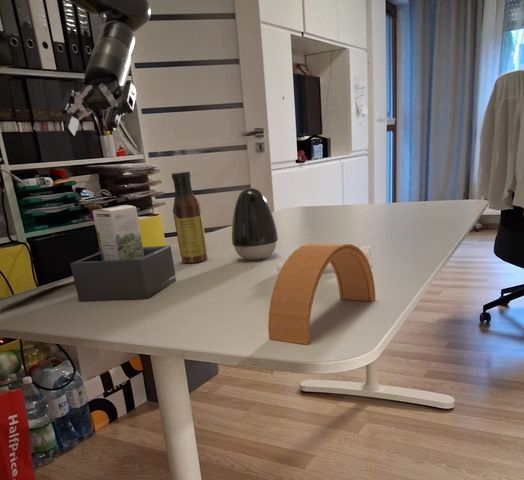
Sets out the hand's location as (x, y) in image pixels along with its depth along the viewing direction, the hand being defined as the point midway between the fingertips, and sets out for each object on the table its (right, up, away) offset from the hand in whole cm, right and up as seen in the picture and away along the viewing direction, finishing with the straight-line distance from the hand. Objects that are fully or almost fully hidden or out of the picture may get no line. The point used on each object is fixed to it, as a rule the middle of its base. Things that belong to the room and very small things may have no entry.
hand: (89, 130), depth 96 cm
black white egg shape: (+31, -20, +21) cm, 42 cm away
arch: (+41, -36, -24) cm, 60 cm away
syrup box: (+6, -28, +3) cm, 29 cm away
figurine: (+43, -26, +2) cm, 51 cm away
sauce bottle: (+16, -20, +25) cm, 36 cm away
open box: (+6, -29, +3) cm, 30 cm away
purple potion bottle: (-1, -23, +22) cm, 32 cm away
